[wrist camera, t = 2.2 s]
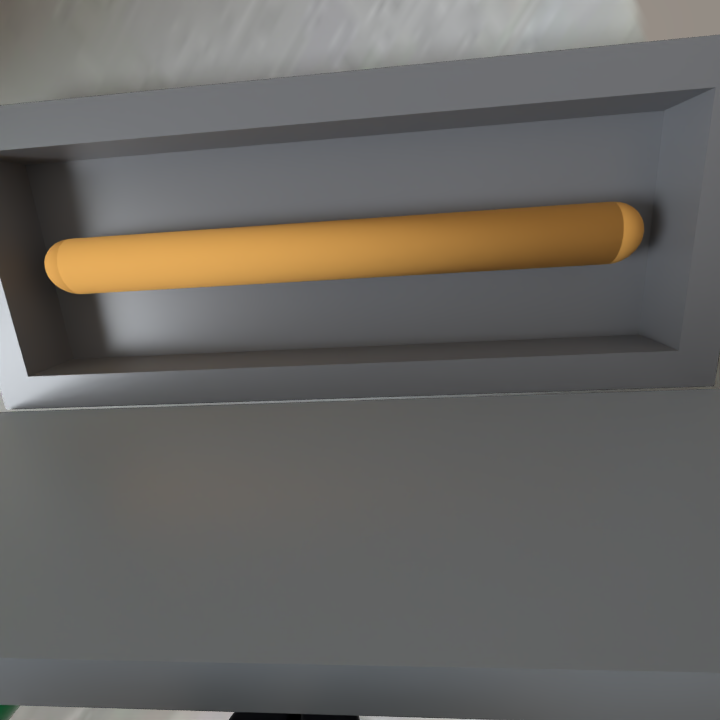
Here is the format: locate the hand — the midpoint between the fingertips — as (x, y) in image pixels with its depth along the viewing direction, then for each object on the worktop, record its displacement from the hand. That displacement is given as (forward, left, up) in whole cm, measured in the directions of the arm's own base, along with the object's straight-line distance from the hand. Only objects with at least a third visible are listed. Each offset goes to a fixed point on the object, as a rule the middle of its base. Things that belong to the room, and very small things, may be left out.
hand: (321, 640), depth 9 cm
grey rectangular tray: (0, -8, -7) cm, 10 cm away
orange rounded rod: (0, -8, -6) cm, 9 cm away
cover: (0, -3, -1) cm, 3 cm away
